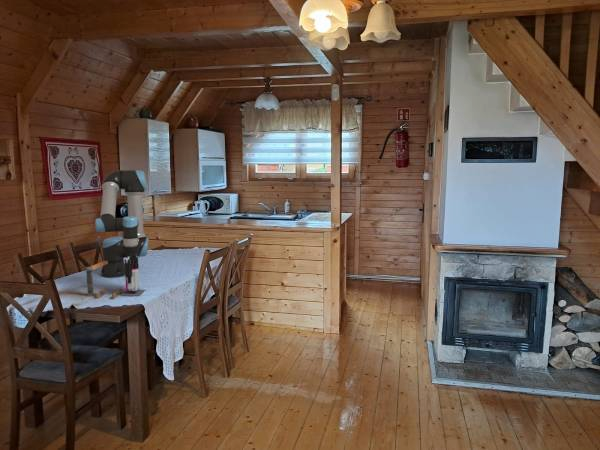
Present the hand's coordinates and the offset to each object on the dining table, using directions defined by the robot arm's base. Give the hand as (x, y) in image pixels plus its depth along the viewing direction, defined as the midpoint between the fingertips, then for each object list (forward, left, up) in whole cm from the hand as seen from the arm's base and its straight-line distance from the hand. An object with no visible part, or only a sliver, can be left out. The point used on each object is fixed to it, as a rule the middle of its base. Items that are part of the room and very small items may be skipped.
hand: (132, 286), depth 246 cm
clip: (-2, -20, +10) cm, 22 cm away
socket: (+5, -14, -4) cm, 16 cm away
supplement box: (0, 0, -2) cm, 2 cm away
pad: (0, 0, -4) cm, 4 cm away
